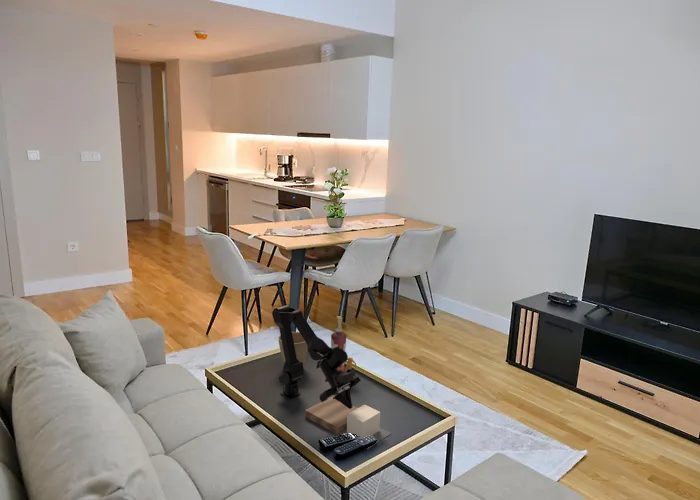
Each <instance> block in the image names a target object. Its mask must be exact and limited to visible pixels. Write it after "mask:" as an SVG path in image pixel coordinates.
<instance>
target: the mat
mask: <svg viewBox="0 0 700 500" xmlns="http://www.w3.org/2000/svg"><path fill="white" fill-rule="evenodd" d="M343 433H347V429H346V430H344V431H343V432H341V433H340V434H339V435H341V434H343ZM391 434H392V432H390V431H388V430H386V429H384V428H383V427H380V431H379V432H377V433H375V434H374V435H373V436H374V437H375V438H376V439H377V442H376V443H375V444H374V445H372V446H370V447H368V448H367V449H366V450H369V449H370V448H372V447H374V446H375V445H377V444H378V443H379V442H381V441H382V440H384V439H385V438H387V437H388V436H390V435H391Z"/></svg>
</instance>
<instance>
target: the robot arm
mask: <svg viewBox="0 0 700 500" xmlns="http://www.w3.org/2000/svg"><path fill="white" fill-rule="evenodd" d="M271 315H272V316H271V317H272V319H273V322H274V324H275V325H276V327H278V329H279V336H280V335H281V340H282V345H283V351H284V356H285V364H284V363H283V364H284V365H283V367H282V369H283V371H282V374H281V375H280V376H279V377H278V381H279V383H280V384H281V385H282V391H281V392H280V395H282V396H284V397H286V398H287V399H289V400H290V399H294V398H295V397H297V396H299V395H301V392H300V391H299V381H301V380H302V379H303V376H304V374H305V369H304V363H302V362H300V361H299V360H298V359H297V357H296V351H295V346H294V341H293V335H292V332H293V331H292V324H293V325H294V326H295V328H296V330H297V332H300V334H301V335H302V337H303V339H304V340H305V342H306V343H307V353H308V354H309V355H310V358H311V359H312V360H313V361H317V362H316V363H317V364H316V369H321V371H322V373H323V375H324V377H325V380H324V381H325V383H327V382H328V384H329V387H330V388H327V389H326V390H325V391H323V392H322V393H320V395H319V401H320V402H324V401H326V400H327V399H328V398H330V397H332V396H334V397H333V399H336V400H337V401H339V402H341V403H342V404H344V405H345V406H346V407H348V408H349V409H351V408H352V406H353V403H352V397H351V391H352V389H353V387H355V386H356V385H358V384H359V383H360V382H362V379H360V377H359V376H358V375H356V373H355V369H353V368H352V367H351V369H348V368H347V372H346V371H345V372H342V371H341V370H340V371H338V369H337V368H338V367H339V366H341V365H342V364H343V363H344V364H345V363H346V362H348V360H347V359H348V358H349V356H348V353H347V351H346V350H345V351H344V350H342V349H339V347H338V346H337V347H335V348H333V349H332V348H331V346H329V345H328V344H327V342H325V341H324V339H323V338H320V337H318V336H317V334H316V333H315V331H314V330H313V329H312V327H311V326H310V324H309V323H308V321H307V320H306V318H305V317H304V314H303V312H302V311H301V310H299V309H297V308H296V307H293V306H290V305H287V304H286V305H281V306H279V307H276V308H274V309H273V311H272V312H271Z"/></svg>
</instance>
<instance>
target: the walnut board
mask: <svg viewBox="0 0 700 500" xmlns="http://www.w3.org/2000/svg"><path fill="white" fill-rule="evenodd" d="M333 397H334V395H332V396H330V397H329V398H328V399H327V400H326V401H324V402H321V401H319V402H318V403H316V404H314V405H313V406H310V407H309V408H307V409H305V414H304V416H305V418H307V419H309V420H310V421H312V422H314V423H316V424H317V425H319V426H321V427H322V428H325V429H327V430H328V431H330V432H332V433H333V434H335V435H341V434H340V433H341V432H343V431H344V430H346V429H347V414H348V413H350V412H352V411H354V410H355V409H357V408H358V407H356V406H354V405H352V408H351V409H349V408H348V407H346V406H345V405H344V404H342V403H341V402H339V401H337V400H336V399H333Z"/></svg>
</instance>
